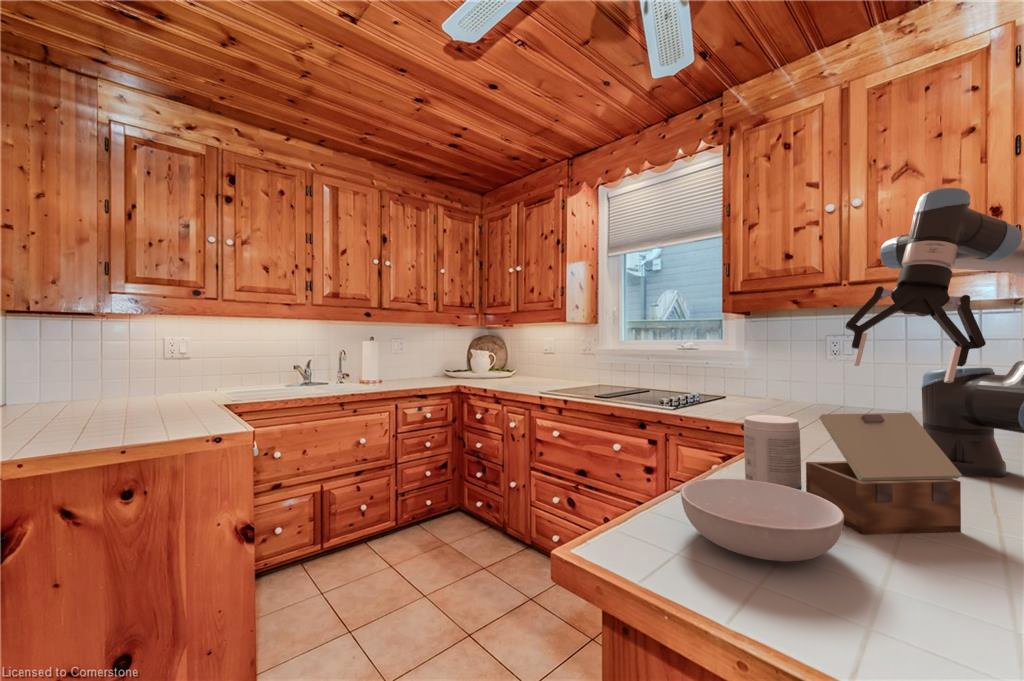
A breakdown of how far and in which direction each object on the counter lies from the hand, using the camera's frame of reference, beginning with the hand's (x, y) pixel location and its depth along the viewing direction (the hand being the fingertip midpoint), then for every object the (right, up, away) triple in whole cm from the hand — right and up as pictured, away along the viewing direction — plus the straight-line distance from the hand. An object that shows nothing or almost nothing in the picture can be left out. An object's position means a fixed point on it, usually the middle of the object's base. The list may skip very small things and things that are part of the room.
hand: (900, 373), depth 85 cm
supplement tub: (-24, -24, +1) cm, 34 cm away
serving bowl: (-39, -24, -20) cm, 50 cm away
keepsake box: (-14, -24, -11) cm, 29 cm away
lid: (-14, -11, -12) cm, 22 cm away
